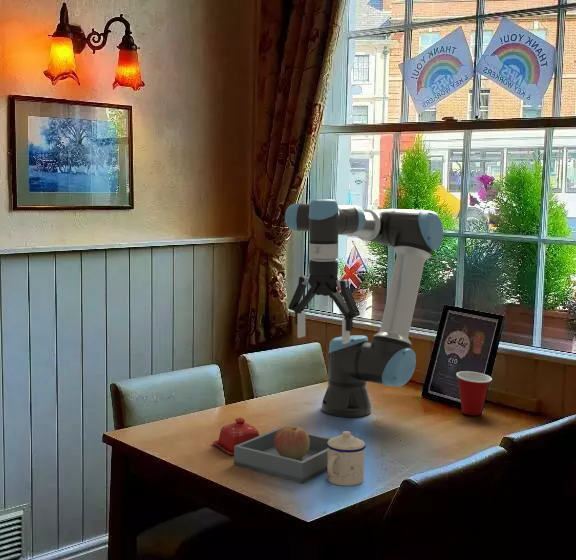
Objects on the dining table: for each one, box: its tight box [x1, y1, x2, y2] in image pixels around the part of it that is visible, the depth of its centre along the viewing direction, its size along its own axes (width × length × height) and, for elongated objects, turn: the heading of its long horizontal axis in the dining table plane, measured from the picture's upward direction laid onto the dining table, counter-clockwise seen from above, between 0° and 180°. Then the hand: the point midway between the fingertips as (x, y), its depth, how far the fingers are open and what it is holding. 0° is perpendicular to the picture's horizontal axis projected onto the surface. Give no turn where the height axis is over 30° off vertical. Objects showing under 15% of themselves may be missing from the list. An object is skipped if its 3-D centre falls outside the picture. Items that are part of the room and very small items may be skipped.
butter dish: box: [212, 417, 260, 456], centre depth 213 cm, size 12×12×8 cm
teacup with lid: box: [326, 430, 367, 487], centre depth 190 cm, size 12×9×12 cm
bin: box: [233, 426, 332, 485], centre depth 203 cm, size 20×20×5 cm
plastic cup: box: [456, 370, 493, 416], centre depth 251 cm, size 11×11×12 cm
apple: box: [274, 426, 310, 460], centre depth 202 cm, size 9×9×8 cm
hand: (323, 340), depth 214 cm, fingers open, 13 cm apart
